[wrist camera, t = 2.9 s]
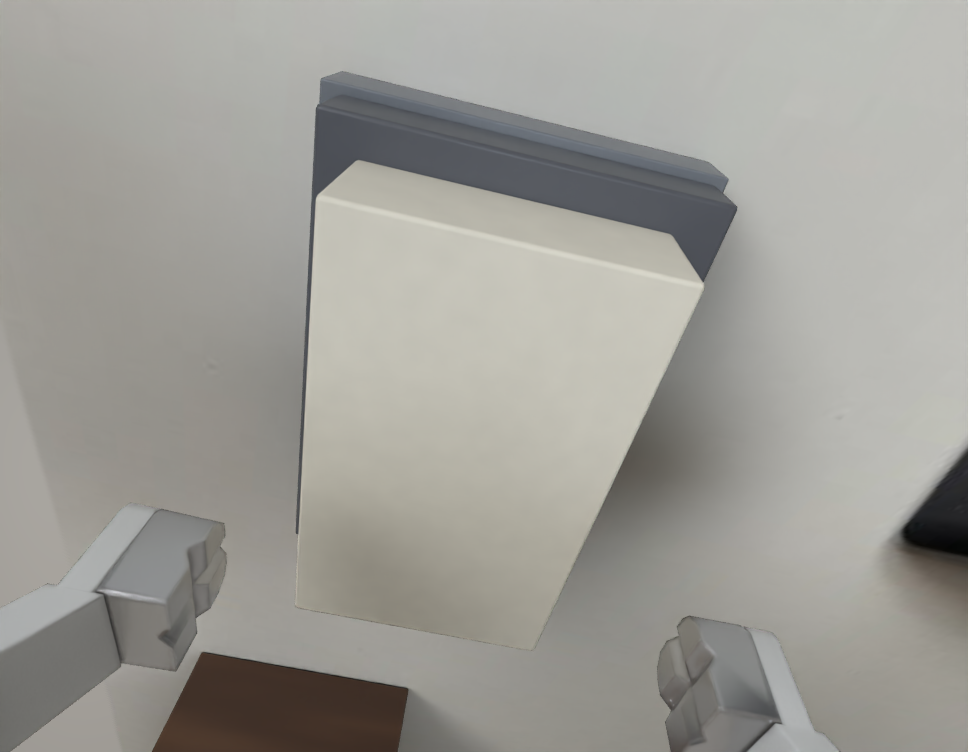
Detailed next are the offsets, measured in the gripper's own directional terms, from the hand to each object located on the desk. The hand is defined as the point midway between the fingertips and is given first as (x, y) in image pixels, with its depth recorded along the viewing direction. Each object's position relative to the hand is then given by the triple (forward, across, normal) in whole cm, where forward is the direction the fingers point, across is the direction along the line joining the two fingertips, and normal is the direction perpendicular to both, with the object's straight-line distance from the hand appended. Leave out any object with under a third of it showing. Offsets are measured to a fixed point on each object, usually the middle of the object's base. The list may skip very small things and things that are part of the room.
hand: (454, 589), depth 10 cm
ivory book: (+5, 0, 0) cm, 5 cm away
